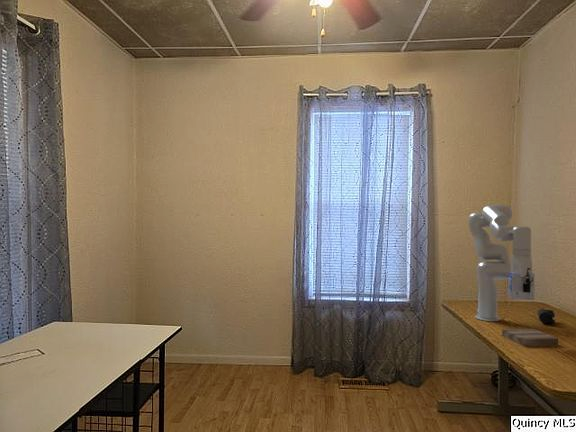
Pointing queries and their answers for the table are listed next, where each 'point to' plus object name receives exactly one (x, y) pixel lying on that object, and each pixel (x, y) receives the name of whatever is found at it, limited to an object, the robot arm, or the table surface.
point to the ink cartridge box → (519, 288)
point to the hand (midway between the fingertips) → (521, 290)
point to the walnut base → (530, 337)
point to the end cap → (546, 316)
